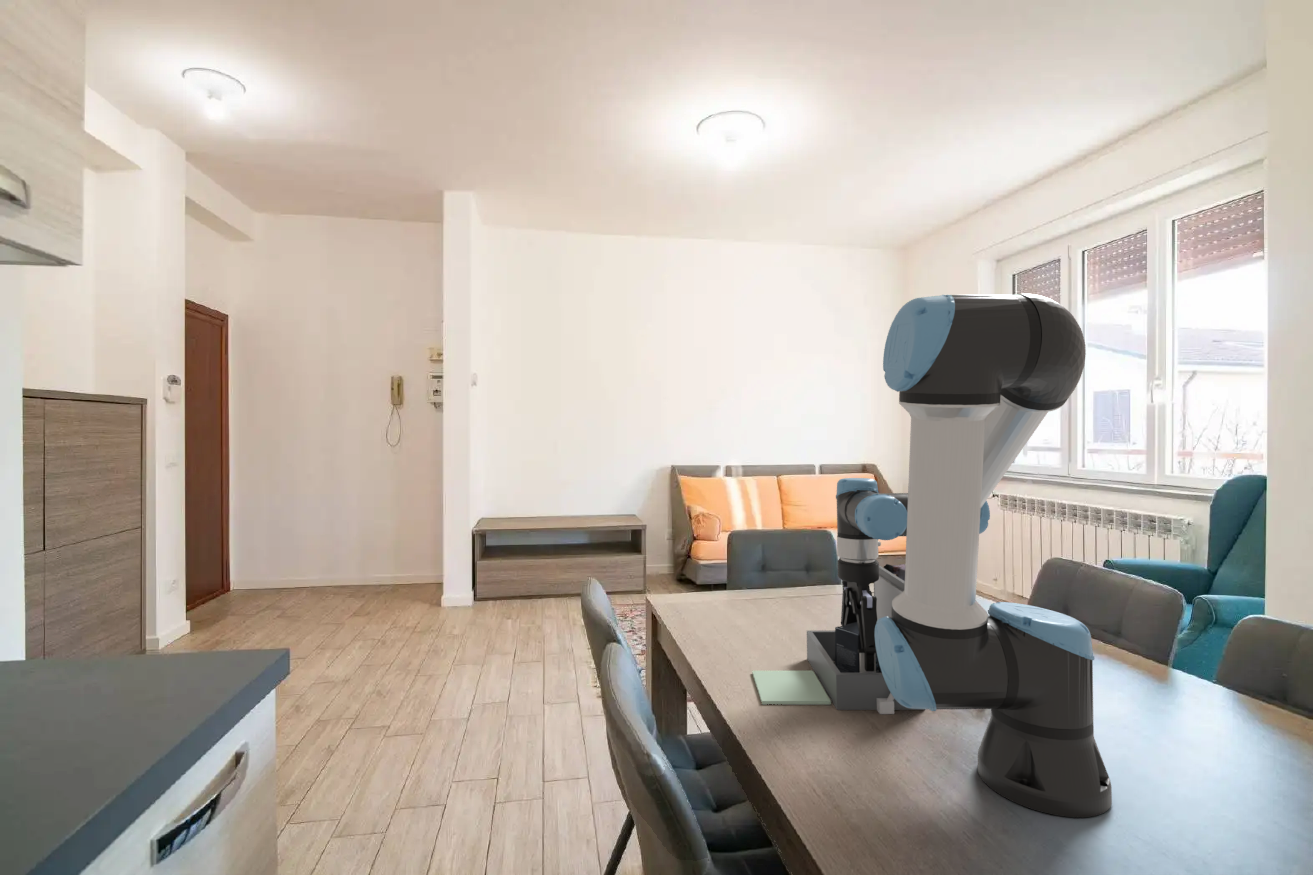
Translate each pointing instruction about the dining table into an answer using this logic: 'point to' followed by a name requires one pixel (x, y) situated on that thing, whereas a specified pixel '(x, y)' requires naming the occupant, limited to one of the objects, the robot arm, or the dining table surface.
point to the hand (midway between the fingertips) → (859, 675)
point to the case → (856, 687)
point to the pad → (790, 688)
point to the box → (849, 649)
